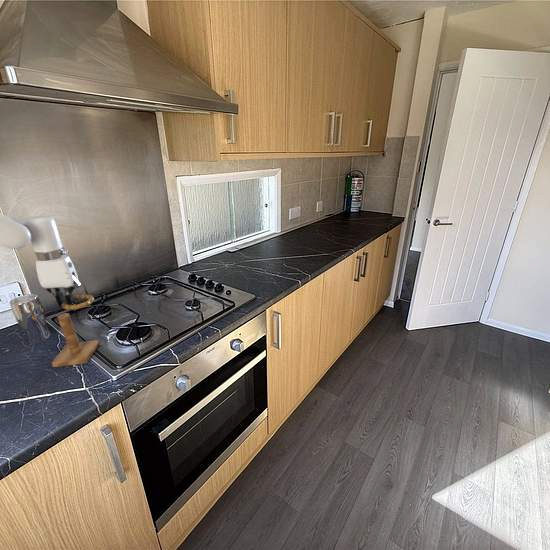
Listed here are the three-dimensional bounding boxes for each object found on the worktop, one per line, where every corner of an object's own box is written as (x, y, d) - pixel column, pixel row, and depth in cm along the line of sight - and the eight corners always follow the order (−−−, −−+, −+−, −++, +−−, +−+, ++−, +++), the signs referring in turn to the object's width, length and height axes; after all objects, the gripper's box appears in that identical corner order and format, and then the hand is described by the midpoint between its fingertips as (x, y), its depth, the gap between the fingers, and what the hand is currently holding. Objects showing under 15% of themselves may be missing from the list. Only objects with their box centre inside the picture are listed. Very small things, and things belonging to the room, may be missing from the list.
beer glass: (53, 331, 98) (37, 291, 92) (55, 341, 93) (38, 299, 87) (26, 339, 94) (8, 298, 88) (27, 350, 89) (8, 307, 83)
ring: (56, 311, 98) (55, 307, 98) (70, 298, 107) (69, 294, 106) (87, 309, 100) (86, 305, 99) (98, 296, 108) (97, 292, 108)
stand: (52, 367, 81) (35, 326, 76) (68, 347, 90) (54, 309, 84) (87, 363, 83) (73, 322, 77) (99, 343, 91) (87, 305, 85)
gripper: (82, 249, 100) (95, 297, 107) (30, 252, 98) (47, 301, 105) (71, 256, 93) (86, 307, 100) (16, 259, 91) (35, 311, 98)
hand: (66, 303), depth 103 cm, fingers closed on ring, 2 cm apart
